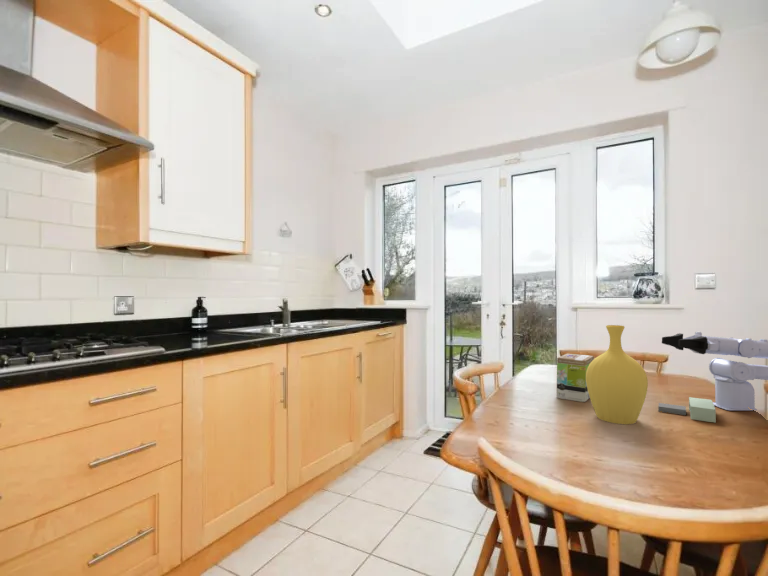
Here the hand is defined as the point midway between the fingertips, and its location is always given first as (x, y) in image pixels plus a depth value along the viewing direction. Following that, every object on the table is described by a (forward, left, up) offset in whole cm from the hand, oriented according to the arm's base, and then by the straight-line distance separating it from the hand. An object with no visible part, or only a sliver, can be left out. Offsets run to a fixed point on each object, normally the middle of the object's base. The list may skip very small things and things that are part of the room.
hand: (670, 341), depth 130 cm
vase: (+25, +12, -22) cm, 35 cm away
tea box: (+25, -14, -22) cm, 36 cm away
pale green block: (-3, +9, -22) cm, 24 cm away
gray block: (+3, +4, -22) cm, 23 cm away
